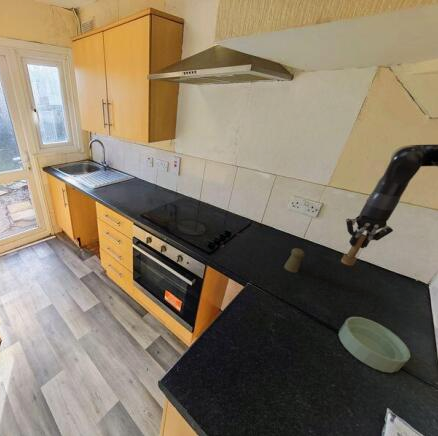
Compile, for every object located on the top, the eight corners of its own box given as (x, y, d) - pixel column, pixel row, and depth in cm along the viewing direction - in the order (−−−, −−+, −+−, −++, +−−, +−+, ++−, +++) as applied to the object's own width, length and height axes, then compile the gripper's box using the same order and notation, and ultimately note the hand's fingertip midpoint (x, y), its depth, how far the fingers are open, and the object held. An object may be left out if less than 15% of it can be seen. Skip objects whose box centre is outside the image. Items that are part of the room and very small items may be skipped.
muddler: (351, 261, 91) (367, 234, 86) (354, 267, 88) (371, 238, 82) (339, 258, 93) (354, 231, 87) (342, 264, 89) (358, 236, 84)
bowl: (384, 339, 77) (394, 327, 75) (409, 383, 65) (422, 371, 62) (332, 322, 83) (339, 310, 80) (346, 359, 70) (355, 347, 67)
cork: (286, 263, 113) (294, 244, 108) (299, 269, 110) (308, 250, 105) (282, 268, 109) (290, 249, 104) (296, 274, 106) (304, 255, 101)
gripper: (359, 204, 78) (337, 246, 86) (412, 213, 74) (383, 256, 81) (352, 197, 84) (332, 237, 92) (400, 205, 80) (375, 246, 88)
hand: (356, 246), depth 87 cm, fingers closed on muddler, 2 cm apart
